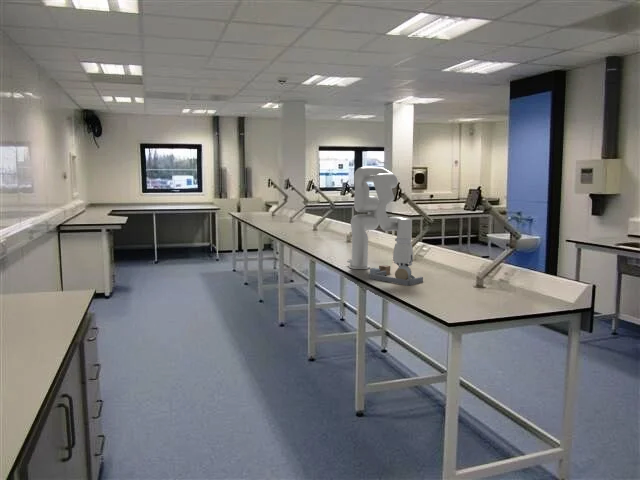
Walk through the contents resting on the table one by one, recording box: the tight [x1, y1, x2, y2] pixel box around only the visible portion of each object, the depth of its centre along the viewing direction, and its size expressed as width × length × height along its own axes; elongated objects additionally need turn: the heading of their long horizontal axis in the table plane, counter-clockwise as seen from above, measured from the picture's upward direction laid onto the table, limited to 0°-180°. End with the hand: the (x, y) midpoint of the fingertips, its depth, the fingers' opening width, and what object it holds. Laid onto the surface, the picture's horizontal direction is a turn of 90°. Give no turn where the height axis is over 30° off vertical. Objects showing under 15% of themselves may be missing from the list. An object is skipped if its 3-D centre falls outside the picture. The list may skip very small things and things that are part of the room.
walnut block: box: [378, 264, 391, 275], centre depth 288 cm, size 4×4×4 cm
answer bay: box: [369, 271, 424, 286], centre depth 270 cm, size 24×14×2 cm, turn 47°
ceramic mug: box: [394, 265, 416, 280], centre depth 268 cm, size 11×8×8 cm
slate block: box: [369, 267, 380, 275], centre depth 282 cm, size 4×4×4 cm
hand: (402, 275), depth 275 cm, fingers closed
